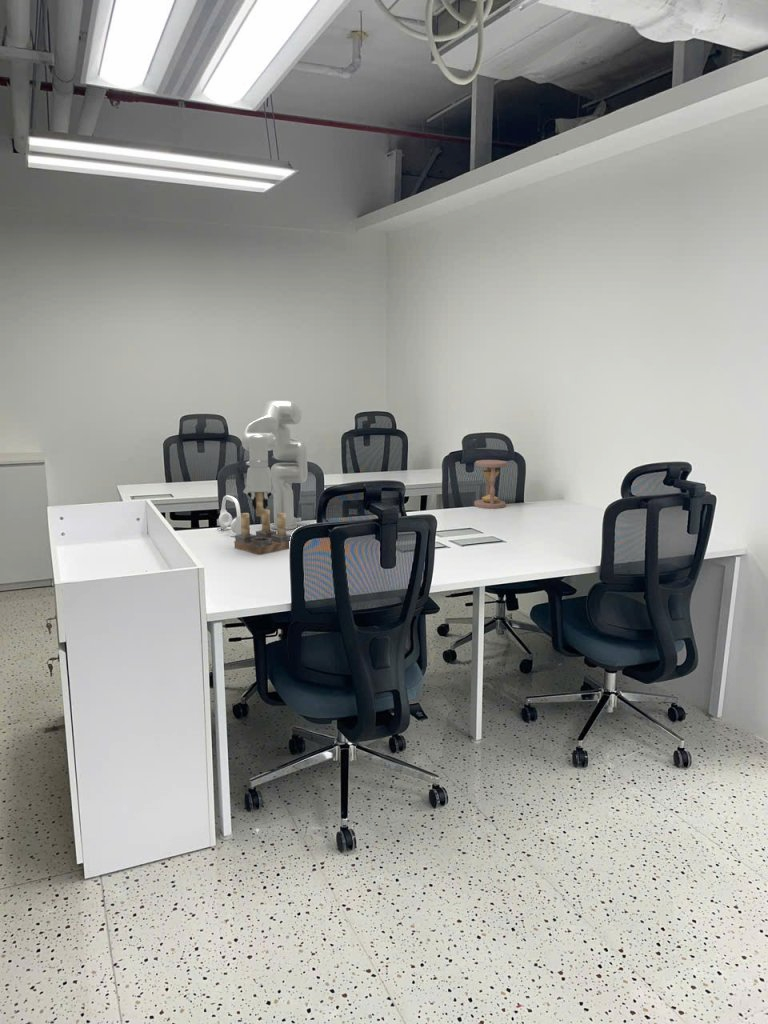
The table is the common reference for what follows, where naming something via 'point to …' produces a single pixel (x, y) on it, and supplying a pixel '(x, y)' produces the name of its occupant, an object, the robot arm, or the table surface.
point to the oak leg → (260, 504)
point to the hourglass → (490, 484)
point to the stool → (263, 535)
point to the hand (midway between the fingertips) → (260, 507)
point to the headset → (226, 518)
